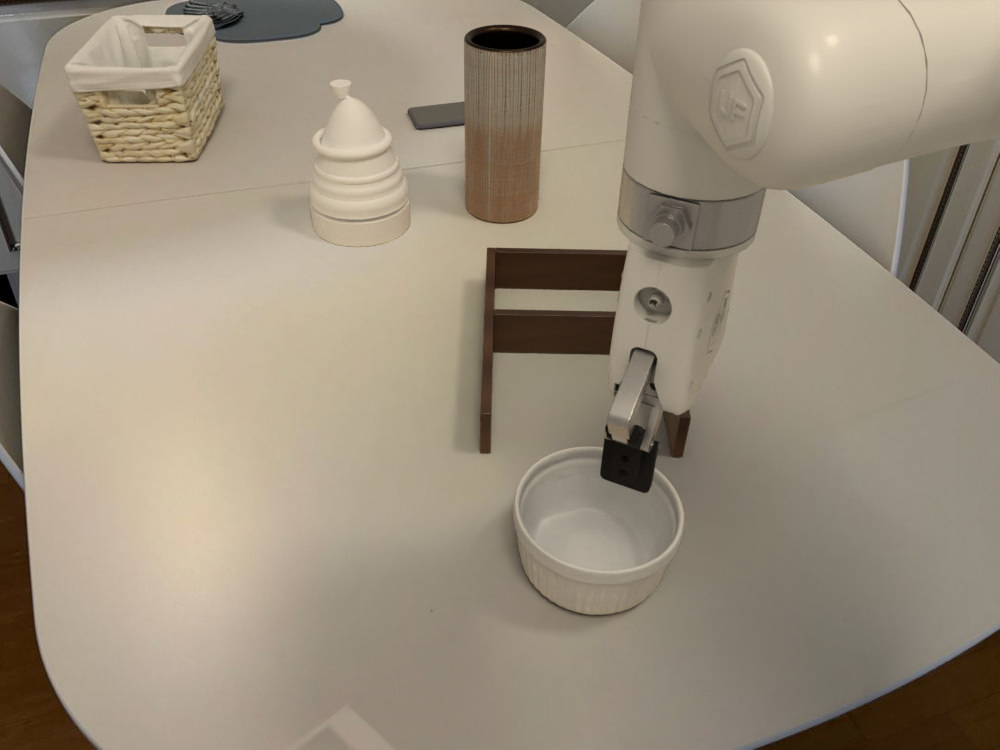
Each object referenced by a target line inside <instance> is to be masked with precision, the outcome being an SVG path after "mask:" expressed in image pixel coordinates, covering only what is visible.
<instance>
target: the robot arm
mask: <svg viewBox="0 0 1000 750" xmlns="http://www.w3.org/2000/svg"><path fill="white" fill-rule="evenodd" d="M640 1H641V2H640V9H639V18H638V27H637V36H636V43H635V54H634V60H633V61H634V63H633V69H632V71H633V72H632V81H631V89H630V97H629V106H628V115H627V124H626V133H625V142H624V152H623V162H622V169H621V178H620V187H619V197H618V205H617V213H616V224H617V227H618V230H619V231H620V232H621V233H622V235H623V236H624V237H625V238H626V239H628V240H629V241H628V246H627V249H626V250H627V255H626V260H625V265H624V270H623V273H622V281H621V286H620V291H619V293H618V297H617V304H616V309H615V312H616V315H615V321H614V328H613V334H612V341H611V348H610V354H609V358H608V369H607V386H608V390H609V391H610V393H611V394H612V396H614V399H613V401H612V404H611V407H610V409H609V412H608V414H607V417H606V424H605V427H604V428H605V429H604V434H603V446H602V447H603V453H602V461H601V469H600V476H601V477H602V478H603V479H605V480H607V481H610V482H613V483H616V484H619V485H622V486H625V487H627V488H630V489H633V490H636V491H639V492H642V493H648V492H649V490H650V488H651V486H652V481H653V475H654V470H655V468H656V463H657V458H658V453H659V447H660V441H659V440H658V441H657V440H656V436H657V432H658V430H659V427H660V424H661V421H662V417H663V411H667V412H670V413H674V415H680V414H682V413H684V412H686V411H687V410H688V409H689V410H690V408H691V407H692V405H693V403H694V402H695V400H696V397H697V396H698V393H699V392H700V390H701V387H702V386H703V383H704V382H705V380H706V377H707V375H708V373H709V371H710V370H711V366H712V365H713V362H714V360H715V358H716V356H717V354H718V352H719V349H720V348H721V345H722V342H723V340H724V336H725V332H726V329H727V322H728V317H729V312H730V307H731V306H730V305H731V299H732V295H733V287H734V283H735V277H736V273H737V272H736V271H737V267H738V266H737V265H738V259H739V253H741V252H743V251H744V250H747V249H748V248H749V247H750V246H751V245H752V244H753V243H754V241H755V239H756V235H757V231H758V227H759V223H760V218H761V215H762V210H763V206H764V201H765V198H766V192H767V190H773V191H774V190H775V191H794V190H801V189H807V188H811V187H815V186H819V185H823V184H826V183H830V182H833V181H837V180H841V179H844V178H848V177H851V176H855V175H858V174H862V173H866V172H869V171H872V170H874V169H876V168H879V167H883V166H886V165H890V164H893V163H897V162H901V161H906V160H909V159H913V158H917V157H921V156H924V155H928V154H933V153H936V152H940V151H944V150H950V149H953V148H957V147H960V146H961V147H962V146H966V145H970V144H975V143H980V142H985V141H992V140H998V139H1000V0H640ZM648 386H649V387H650V389H651V390H652V391H654V392H656V395H657V396H655V395H652V394H649V393H646V392H647V389H648ZM641 404H642V405H646V406H648V407H651V410H650V413H649V415H648V419H647V423H646V425H645V428H644V427H642V426H641V425H638V424H637V421H638V419H637V418H638V413H639V409H640V407H641Z"/></svg>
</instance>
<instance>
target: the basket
mask: <svg viewBox="0 0 1000 750" xmlns="http://www.w3.org/2000/svg"><path fill="white" fill-rule="evenodd" d="M216 33H217V32H216V29H215V24H214V20H213V18H212V17H210V16H209V15H207V14H202V15H199V14H198V15H196V14H131V15H130V14H129V15H127V14H125V15H123V14H120V15H119V14H116V15H112V16H111V17H109V18H108V19H107V20H106V22H105V23H104V24H102V25H101V26H100V27H99V28H98V29H97V30H96V32H94V33H93V35H92V36H91V37H90V38H89V39H88V40H87V42H85V44H84V45H82V46H81V48H80V49H79V50H78V51H77V52H76V53H74V55H73V56H72V57H71V58H70V59H69V60H68V62H67V63H66V64H65V65H64V67H63V68H64V72H65V73H64V74H65V76H66V79H67V81H68V87H69V89H70V92H72V94H73V97H74V98H75V100H76V101H77V105H78V107H79V108H80V112H81V114H82V116H83V120H84V121H85V124H86V126H87V130H88V131H89V134H90V136H91V137H92V140H93V142H94V143H95V145H96V150H97V152H98V155H99V157H100V159H101V160H103V161H105V162H109V163H120V162H124V163H134V162H141V163H149V162H150V163H153V162H154V163H156V162H157V163H167V162H174V163H181V162H188V161H195V160H197V159H198V158H199V156H200V154H201V153H202V151H203V148H204V147H205V145H206V144H207V140H208V139H209V137H210V136H211V134H212V131H213V130H214V127H215V124H216V122H217V120H218V118H219V116H220V114H221V112H222V110H223V107H224V104H225V103H226V100H224V98H223V95H224V94H223V90H222V80H221V76H220V74H221V73H220V64H219V62H218V61H219V60H218V49H217V47H216V46H217V45H218V43H217V37H216ZM146 34H166V35H167V34H171V35H174V34H183V37H184V40H185V45H181V46H152V45H149V44H148V39H147V35H146Z"/></svg>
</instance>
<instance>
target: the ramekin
mask: <svg viewBox="0 0 1000 750" xmlns="http://www.w3.org/2000/svg"><path fill="white" fill-rule="evenodd" d="M602 453H603V446H590V445H589V446H588V445H587V446H586V445H585V446H575V447H568V448H564V449H560V450H556V451H553V452H551V453H550V454H548V455H546V456H543V457H541V458H540V459H538V460H537V461H536V462H534V463H532V465H531V466H530V467H528V469H526V471H525V473H524V474H523V476H522V477H521V478H520V480H519V482H518V484H517V486H516V489H515V493H514V498H513V505H512V519H513V524H514V528H515V532H516V535H517V544H518V552H519V556H520V560H521V561H520V562H521V564H522V565H521V566H522V567H523V569H524V572H525V574H526V576H527V577H528V579H529V581H530V583H531V584H532V585H533V586H534V588H535V589H536V590H538V591H539V592H540V594H541V595H542V596H544V597H545V598H547V599H548V600H549V601H550V602H553V603H554V604H556V605H557V606H559V607H562V608H564V609H565V610H569V611H572V612H575V613H579V614H584V615H591V616H595V615H596V616H597V615H599V616H604V615H612V614H615V613H621V612H624V611H627V610H630V609H631V608H633V607H635V606H638V605H639V604H640V603H641V602H643V601H645V600H646V599H647V598H648V597H649V596H651V594H652V593H653V592H654V590H655V588H657V587H658V586H659V584H660V582H661V580H662V578H663V577H664V574H665V572H666V569H667V567H668V565H669V563H670V562H671V561H672V559H673V558H674V557H675V555H676V553H677V552H678V550H679V547H680V545H681V543H682V538H683V533H684V528H685V509H684V506H683V503H682V500H681V497H680V495H679V494H678V491H677V489H676V488H675V487H674V485H673V484H672V482H671V481H670V480H669V479H668V477H666V476H665V474H663V473H662V472H661V470H659V469H657V468H656V467H655V470H654V475H653V481H652V486H651V488H650V490H649V492H648V493H642V492H639V491H636V490H633V489H630V488H627V487H625V486H622V485H619V484H616V483H613V482H610V481H607V480H605V479H603V478H602V477H601V476H600V469H601V461H602Z"/></svg>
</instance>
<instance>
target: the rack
mask: <svg viewBox="0 0 1000 750" xmlns="http://www.w3.org/2000/svg"><path fill="white" fill-rule="evenodd" d="M627 250H628V249H588V248H587V249H583V248H541V247H539V248H535V247H534V248H533V247H531V248H530V247H486V257H485V258H486V259H485V261H486V262H485V284H484V286H485V287H484V307H483V309H484V310H483V331H482V332H483V333H482V356H481V358H482V359H481V381H480V382H481V383H480V384H481V385H480V405H479V406H480V407H479V453H480V454H491V451H492V419H493V418H492V413H493V412H492V411H493V379H494V378H493V377H494V376H493V375H494V371H493V370H494V353H515V354H517V353H518V354H519V353H520V354H563V355H565V354H566V355H567V354H569V355H610V348H611V341H612V334H613V328H614V321H615V315H616V311H609V310H607V311H606V310H605V311H603V310H562V309H561V310H559V309H557V310H556V309H515V308H514V309H513V308H512V309H508V308H506V309H505V308H495V296H496V289H520V290H521V289H522V290H525V289H526V290H568V291H573V290H574V291H575V290H576V291H577V290H578V291H615V292H616V291H619V292H620V286H621V281H622V273H623V270H624V265H625V260H626V255H627ZM662 416H663V419H664V423H665V429H666V433H667V438H668V444H669V447H670V452H671V457H672V458H683V457H684V452H685V448H686V443H687V438H688V434H689V429H690V425H691V420H692V415H691V412H690V408H689V409H688V410H687V411H686V412H684V413H682V414H680V415H674V413H670V412H667V411H663V414H662Z"/></svg>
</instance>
